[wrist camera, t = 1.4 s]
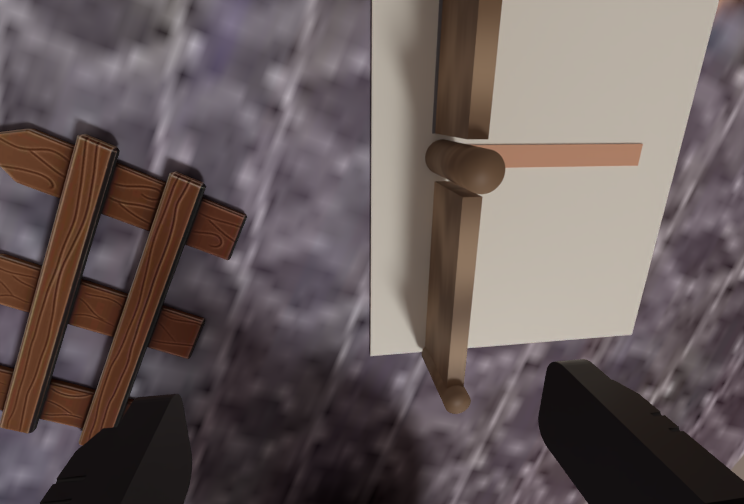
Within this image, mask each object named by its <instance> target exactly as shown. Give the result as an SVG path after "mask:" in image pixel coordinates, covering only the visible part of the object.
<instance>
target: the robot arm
mask: <svg viewBox="0 0 744 504" xmlns="http://www.w3.org/2000/svg"><path fill="white" fill-rule="evenodd" d="M538 422H539V429H540V433H541V436H542V438H543V441H544V443H545V444H546V446H547V447H548V449H549V450H550V452H551V453H552V454H553V456H554V457H555V458H556V460H557V461H558V463H559V464H560V465H561V467H562V468H563V469H564V471H565V472H566V474H567V475H568V476H569V478H570V479H571V480H572V482H573V483H574V485H575V486H576V487H577V489H578V490H579V491H580V493H581V494H582V496H583V497H584V498H585V500H586V501H587V502H588V504H744V481H743V480H742V479H740V478H739V477H738V476H737V475H736V474H735V473H733V472H732V471H731V470H730V469H729V468H727V467H726V466H725V465H724V464H723V463H721V462H720V461H719V460H718V459H717V458H715V457H714V456H713V455H712V454H711V453H709V452H708V451H707V450H706V449H705V448H703V447H702V446H701V445H700V444H698V443H697V442H696V441H695V440H694V439H692V438H691V437H690V436H689V435H688V434H686V433H685V432H684V431H680V430H679V427H678V426H677V425H676V424H674V423H673V422H672V421H671V420H670V419H668V418H667V417H666V416H665V415H664V416H662V415H661V414H660V411H659V410H658V409H656V408H655V407H654V406H653V405H652V404H650V403H649V402H648V401H647V400H646V399H644V398H643V397H642V396H641V395H640V394H638V393H636V392H634V391H633V390H631V389H629V388H627V387H625V386H623V385H621V384H620V383H618V382H616V381H614V380H611V379H610V378H609V377H608V376H606V375H605V374H604V373H603V372H602V371H601V370H599V369H598V368H597V367H596V366H595V365H594V364H592V363H591V362H590V361H588V360H585V359H580V360H568V361H557V362H552V363H550V364H549V366H548V368H547V371H546V376H545V382H544V388H543V393H542V399H541V405H540V410H539V417H538ZM191 471H192V453H191V447H190V441H189V436H188V430H187V424H186V419H185V413H184V407H183V402H182V399H181V397H180V395H179V394H171V395H160V396H148V397H138V398H136V399H135V400H134V401H133V402H132V403H131V405H130V406H129V408H128V410H127V411H126V413H125V414H124V416H123V418H122V419H121V421H120V422H119V424H118V426H117V427H112V428H103V429H102V430H101V431H99V432H98V433H97V434H96V435H95V436H93V437H92V438H91V439H90V440H89V441H88V442H86V443H85V444H84V445H83V446H82V447H80V448H79V449H78V450H77V451H76V452H75V453H74V455H73V456H72V457H71V459H70V460H69V462H68V463H67V465H66V466H65V467H64V469H63V470H62V472H61V473H60V475H59V476H58V478H57V482H56V484H53V485H52V486H51V488H50V489H49V490H48V492H47V493H46V495H45V496H44V498H43V499H42V500H41V502H40V504H183V503H184V500H185V497H186V494H187V491H188V488H189V484H190V479H191Z"/></svg>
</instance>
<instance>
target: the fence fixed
mask: <svg viewBox="0 0 744 504" xmlns="http://www.w3.org/2000/svg"><path fill="white" fill-rule="evenodd" d="M501 9H502V0H443V4H442V21H441V39H440V57H439V74H438V92H437V110H436V127H435V134H441V135H446V136H451V137H457V138H462V139H488V138H489V128H490V118H491V108H492V99H493V89H494V79H495V69H496V59H497V49H498V39H499V29H500V19H501ZM425 162H426V165H427V167H428V168H429V170H431V171H432V172H433V173H435V174H437V175H439V176H441V177H443V178H445V179H447V180H449V181H451V182H453V183H455V184H457V185H459V186H461V187H463V188H465V189H467V190H469V191H471V192H473V193H476V194H487V193H490V192H492V191H494V190H495V189H496V188H497V187H498V186H499V185H500V184H501V182H502V181H503V178H504V175H505V163H504V160H503V158H502V156H501V155H500V154H499V153H498V152H496V151H494V150H491V149H487V148H482V147H477V146H473V145H468V144H463V143H459V142H454V141H449V140H444V139H441V140H437V141H435V142H433V143H432V144H431V145H430V146H429V147H428V149H427V151H426V154H425Z"/></svg>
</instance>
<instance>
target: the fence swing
mask: <svg viewBox="0 0 744 504" xmlns="http://www.w3.org/2000/svg"><path fill="white" fill-rule="evenodd" d="M482 198H483V197H482V196H480V195H478V194H476V193H473V192H471V191H469V190H467V189H465V188H463V187H461V186H459V185H457V184H455V183H453V182H451V181H435V183H434V200H433V217H432V234H431V251H430V268H429V285H428V302H427V319H426V337H425V347H424V348H423V350H422V357H423V360H424V362H425V364H426V366H427V368H428V371H429V373H430V375H431V377H432V379H433V382H434V384H435V386H436V388H437V390H438V393H439V395H440V397H441V399H442V401H443V404H444V406H445V408H446V410H447V411H448V412H450V413H452V414H458V413H462V412H464V411H465V410H466V409H467V408H468V407H469V405H470V402H471V400H470V397H469V395H468V393H467V391H466V390H465V388H464V377H465V367H466V357H467V347H468V337H469V327H470V317H471V307H472V297H473V287H474V277H475V267H476V257H477V247H478V238H479V228H480V218H481V208H482Z"/></svg>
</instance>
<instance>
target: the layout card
mask: <svg viewBox="0 0 744 504" xmlns="http://www.w3.org/2000/svg"><path fill="white" fill-rule="evenodd" d="M718 2H719V0H502V9H501V19H500V29H499V39H498V49H497V59H496V69H495V79H494V89H493V99H492V108H491V118H490V128H489V138H488V139H462V138H457V137H451V136H446V135H441V134H435V127H436V110H437V92H438V74H439V57H440V39H441V21H442V4H443V0H372V69H371V307H370V355H371V356H377V355H389V354H401V353H413V352H422V350H423V348H424V347H425V337H426V319H427V302H428V285H429V268H430V251H431V234H432V217H433V200H434V183H435V181H449V180H447V179H445V178H443V177H441V176H439V175H437V174H435V173H433V172H432V171H431V170H429V168H428V167H427V165H426V162H425V154H426V151H427V149H428V147H429V146H430V145H431V144H432V143H433V142H435V141H437V140H441V139H444V140H449V141H454V142H459V143H463V144H468V145H473V146H477V147H482V148H487V149H491V150H494V151H496V152H498V153H499V154H500V155H501V156H502V158H503V160H504V163H505V175H504V178H503V181H502V182H501V184H500V185H499V186H498V187H497V188H496V189H495V190H494V191H492V192H490V193H487V194H478V195H480V196H482V197H483V198H482V208H481V218H480V228H479V238H478V247H477V257H476V267H475V277H474V287H473V297H472V307H471V317H470V327H469V337H468V347H467V348H474V347H487V346H499V345H511V344H523V343H536V342H548V341H560V340H572V339H584V338H597V337H609V336H621V335H632V332H633V328H634V324H635V320H636V317H637V313H638V309H639V305H640V301H641V297H642V294H643V290H644V286H645V282H646V278H647V274H648V271H649V267H650V263H651V259H652V255H653V251H654V248H655V244H656V240H657V236H658V232H659V228H660V225H661V221H662V217H663V213H664V209H665V205H666V202H667V198H668V194H669V190H670V186H671V182H672V179H673V175H674V171H675V167H676V163H677V159H678V156H679V152H680V148H681V144H682V140H683V136H684V132H685V129H686V125H687V121H688V117H689V113H690V109H691V106H692V102H693V98H694V94H695V90H696V86H697V83H698V79H699V75H700V71H701V67H702V63H703V60H704V56H705V52H706V48H707V44H708V40H709V37H710V33H711V29H712V25H713V21H714V17H715V14H716V10H717V6H718Z"/></svg>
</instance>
